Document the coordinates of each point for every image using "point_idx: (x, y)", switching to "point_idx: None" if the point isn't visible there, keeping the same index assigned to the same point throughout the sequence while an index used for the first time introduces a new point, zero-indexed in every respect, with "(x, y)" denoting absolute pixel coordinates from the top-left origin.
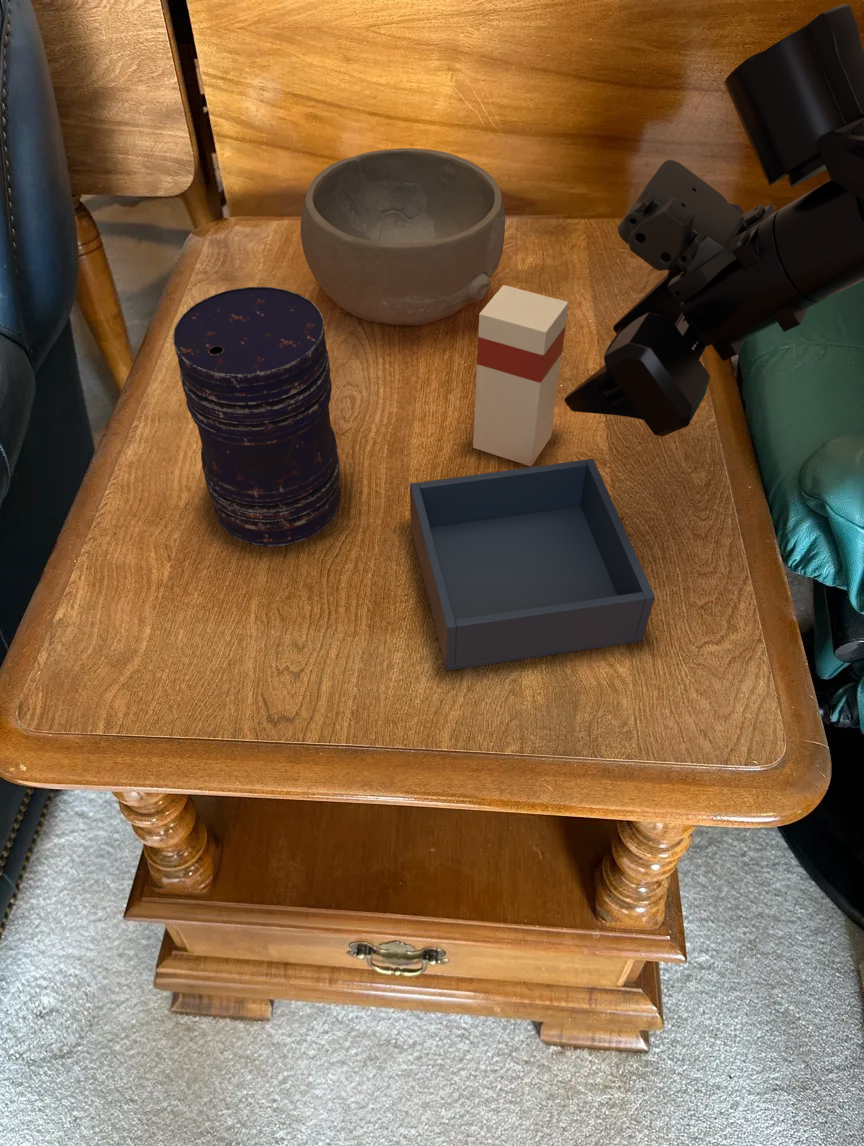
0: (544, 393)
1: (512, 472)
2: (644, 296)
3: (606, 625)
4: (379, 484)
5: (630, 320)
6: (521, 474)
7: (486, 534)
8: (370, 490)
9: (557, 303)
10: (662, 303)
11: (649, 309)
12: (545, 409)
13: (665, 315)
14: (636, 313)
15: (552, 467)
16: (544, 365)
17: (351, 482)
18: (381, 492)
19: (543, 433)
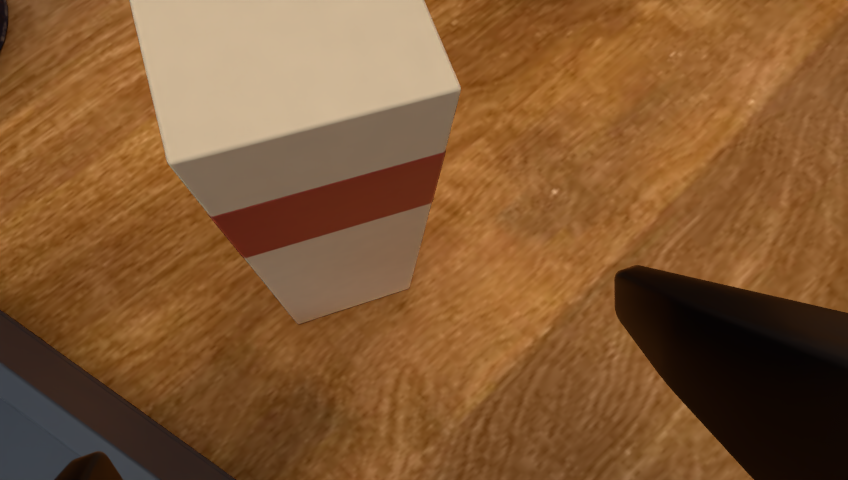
0: (309, 264)
1: (32, 403)
2: (805, 315)
3: None
4: (37, 135)
5: (673, 323)
6: (43, 428)
7: (13, 420)
8: (9, 134)
9: (409, 60)
10: (842, 442)
11: (766, 384)
12: (340, 277)
13: (806, 470)
14: (709, 333)
15: (124, 478)
16: (248, 233)
17: (7, 93)
18: (18, 154)
19: (351, 295)
